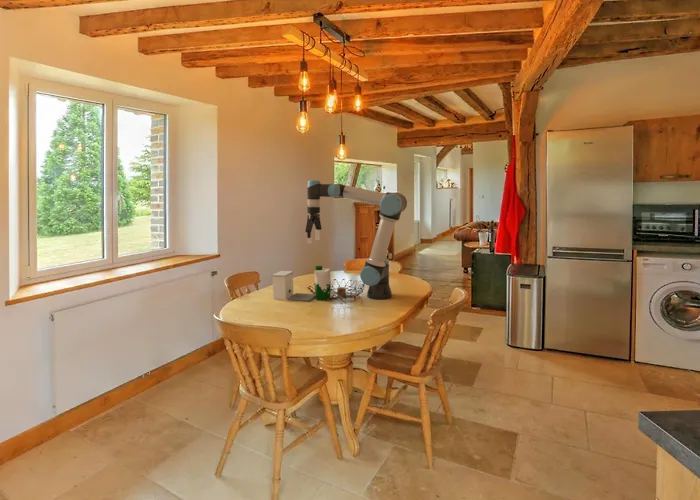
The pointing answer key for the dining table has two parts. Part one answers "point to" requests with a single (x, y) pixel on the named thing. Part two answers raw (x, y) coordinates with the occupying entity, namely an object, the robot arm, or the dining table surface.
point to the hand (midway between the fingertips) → (313, 241)
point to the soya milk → (322, 283)
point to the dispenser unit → (282, 285)
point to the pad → (302, 297)
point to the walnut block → (341, 291)
